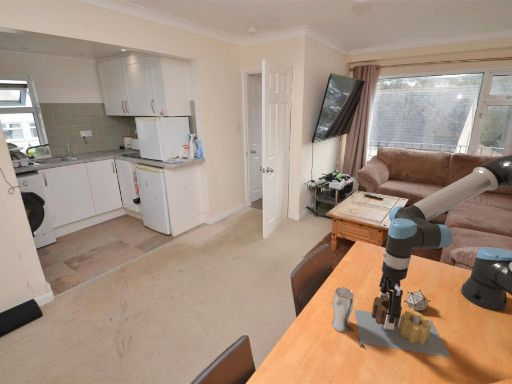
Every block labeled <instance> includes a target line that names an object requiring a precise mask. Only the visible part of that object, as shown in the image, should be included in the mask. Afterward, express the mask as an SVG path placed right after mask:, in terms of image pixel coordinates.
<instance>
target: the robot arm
mask: <svg viewBox="0 0 512 384" xmlns="http://www.w3.org/2000/svg"><path fill="white" fill-rule="evenodd" d="M502 187H507V188H512V154H509V155H503V156H500V157H498V158H494V159H492V160H489V161H487V162H485V163H482V164H481V165H478V166H477V167H474V168H473V169H472V172H471V173H469V174H467V175H465V176H464V177H462V178H460V179H458V180H456V181H455V182H452V183H450V184H449V185H446V186H445V187H443V188H442V189H439V190H438V191H435V192H434V193H432V194H430V195H428V196H426V197H424V198H422V199H421V200H418V201H417V202H415V203H413V204H411V205H410V206H407V207H404V206H395V207H393V208H392V209H391V210H390V212H389V214H388V217H389V221H390V223H389V227H388V231H387V239H386V244H385V250H384V253H382V257H383V261H382V265H381V272H382V274H381V278H380V282H379V284H378V285H379V286H378V287H379V288H380V289H379V291H380V293H379V296H378V297H379V298H381V297H382V296H387V298H389V312H386V314H387V315H386V320H385V325H384V328H385V329H392V330H393V329H394V324H395V319H396V318H399V317H400V308H401V307H402V299H403V298H402V297H403V295H404V294H403V292H404V291H403V290H404V289H400V287H401V281H403V280H405V279H406V278H407V275H408V271H409V267H410V264H411V263H410V262H411V259H412V258H411V257H412V253H413V250H422V249H423V250H425V249H426V250H427V249H436V250H437V249H440V248H447V247H449V246H450V245H452V242H453V232H452V230H451V229H450V228H449V226H447V225H446V224H438V223H435V224H433V223H431V222H429V221H431V220H433V219H434V218H436V217H438V216H440V215H442V214H443V213H445V212H448V211H450V210H451V209H454V208H455V207H457V206H459V205H461V204H463V203H464V202H467V201H469V200H471V199H472V198H475V197H476V196H479V195H481V194H483V193H485V192H486V191H495V190H497V189H498V188H502ZM473 262H474V263H473V266H472V270H471V274H470V276H469V277H468V278H467V279H466V281H465V282H463V283H462V286H461V289H460V292H461V295H463V297H464V298H465V299H467V300H468V301H469V302H471V303H472V304H474V305H476V306H478V307H481V308H483V309H487V310H491V311H502V310H505V309H506V308H507V305H508V296H507V293H508V294H509V295H511V296H512V251H510V250H506V249H502V248H499V247H491V246H486V247H481V248H480V249H478V251H477V253H476V255H475V258H474V261H473Z"/></svg>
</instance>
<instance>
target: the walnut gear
mask: <svg viewBox="0 0 512 384" xmlns="http://www.w3.org/2000/svg"><path fill="white" fill-rule="evenodd" d="M379 297H380V296H376V297H374V301H372V309H371V312H372V314H371V315H372V318H375V319H376V323H378V324H379V325H380V324H382V325H385V320H386V315H387V314H386V312H389V297H388V298H387V296H382V297H381V298H379ZM402 310H403V307H402V306H401V308H400V316H401V315H402ZM399 320H400V317H399V318H396V319H395V324H394V327H397V326H398V325H399Z"/></svg>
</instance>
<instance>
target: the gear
mask: <svg viewBox="0 0 512 384" xmlns="http://www.w3.org/2000/svg"><path fill="white" fill-rule="evenodd" d="M413 316H418V317H419V318H420V320H419V324H418V325H417V324H415V323H412V320H413ZM429 320H430V319H428V317H426V316H422V315H421V314H420V312H418V311H416V310H414V312H413V311H410V310H404V312H403V313H401V320H400V325H399V330H401V332H400V334H401V335H402V336H403V337H407V338H408V339H409V341H410V342H412V343H414V342H419V343H420V344H425V340H428V336H429V333H430V329H431V324H429V323H428V321H429Z"/></svg>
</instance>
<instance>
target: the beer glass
mask: <svg viewBox="0 0 512 384" xmlns="http://www.w3.org/2000/svg"><path fill="white" fill-rule="evenodd" d="M354 297H355V295H354V292H353V291H352V290H351V289H349V288H347V287H341V286H340V287H337V288H336V289H334V294H333V301H332V307H333V308H332V309H333V318H332V321H331V325H332V328H333V329H334V330H336V331H337V332H339V333H345V332H347V331H349V328H350V326H349V319H350V318H351V315H352V312H353V309H354V308H353V307H354V300H355V299H354Z"/></svg>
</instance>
